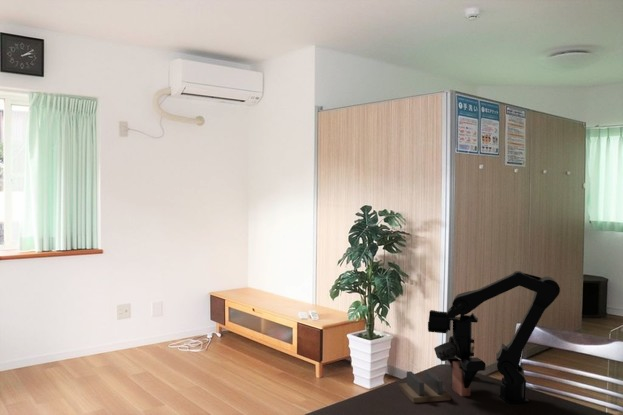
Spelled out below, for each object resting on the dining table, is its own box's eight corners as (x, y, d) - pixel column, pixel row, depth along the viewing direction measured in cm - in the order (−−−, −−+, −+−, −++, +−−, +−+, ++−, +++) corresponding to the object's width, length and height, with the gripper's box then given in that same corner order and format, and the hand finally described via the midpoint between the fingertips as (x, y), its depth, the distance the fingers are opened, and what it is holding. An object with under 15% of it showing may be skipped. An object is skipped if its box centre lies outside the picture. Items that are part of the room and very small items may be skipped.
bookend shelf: (433, 385, 168) (433, 368, 168) (450, 399, 156) (451, 381, 156) (398, 388, 165) (398, 371, 165) (413, 402, 154) (413, 384, 154)
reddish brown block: (460, 388, 165) (461, 360, 165) (470, 395, 160) (470, 366, 159) (452, 389, 165) (452, 361, 165) (461, 396, 159) (461, 367, 159)
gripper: (425, 328, 169) (424, 375, 170) (452, 344, 151) (451, 397, 151) (456, 326, 172) (456, 373, 172) (486, 342, 153) (486, 395, 154)
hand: (461, 384), depth 162 cm, fingers closed on reddish brown block, 6 cm apart
